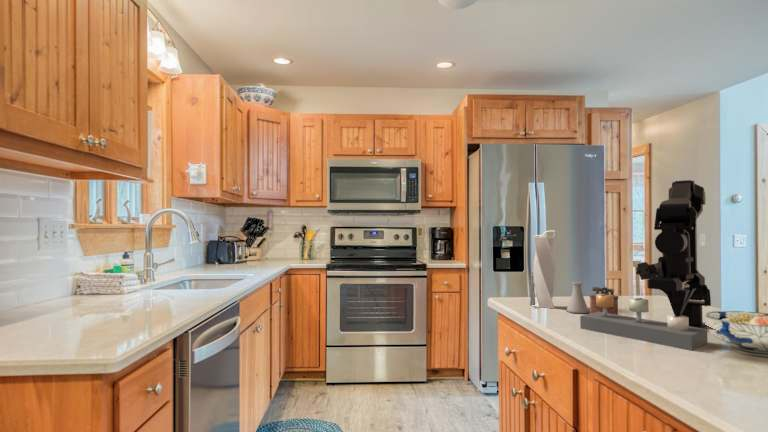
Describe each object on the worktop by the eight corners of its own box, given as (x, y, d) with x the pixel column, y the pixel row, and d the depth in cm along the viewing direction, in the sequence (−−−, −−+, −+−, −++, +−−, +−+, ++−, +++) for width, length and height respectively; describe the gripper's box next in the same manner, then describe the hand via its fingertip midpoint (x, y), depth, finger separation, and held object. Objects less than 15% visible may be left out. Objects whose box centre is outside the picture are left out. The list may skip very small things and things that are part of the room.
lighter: (619, 319, 131) (618, 287, 131) (618, 321, 128) (617, 288, 128) (590, 316, 135) (589, 285, 135) (589, 318, 132) (588, 286, 132)
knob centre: (634, 321, 115) (633, 296, 115) (651, 324, 111) (651, 298, 112) (626, 323, 112) (626, 298, 113) (644, 326, 109) (643, 300, 109)
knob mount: (598, 323, 126) (598, 311, 126) (707, 343, 104) (707, 329, 104) (580, 328, 120) (580, 315, 120) (691, 350, 98) (691, 335, 98)
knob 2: (671, 339, 108) (671, 313, 108) (692, 343, 104) (691, 316, 104) (664, 342, 105) (663, 315, 105) (685, 346, 101) (684, 318, 102)
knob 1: (601, 315, 122) (600, 292, 123) (616, 318, 119) (616, 294, 119) (593, 317, 120) (592, 294, 120) (609, 320, 116) (608, 296, 116)
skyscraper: (553, 305, 156) (551, 230, 156) (560, 310, 148) (558, 230, 148) (529, 305, 156) (528, 230, 157) (535, 309, 148) (534, 230, 149)
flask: (592, 314, 138) (591, 284, 139) (568, 313, 140) (568, 283, 140) (586, 310, 146) (585, 281, 146) (563, 309, 147) (563, 281, 147)
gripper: (656, 250, 117) (658, 306, 117) (624, 253, 106) (625, 315, 106) (704, 252, 108) (706, 313, 108) (674, 255, 97) (676, 323, 97)
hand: (677, 315), depth 105 cm, fingers closed, pressing on knob 2
